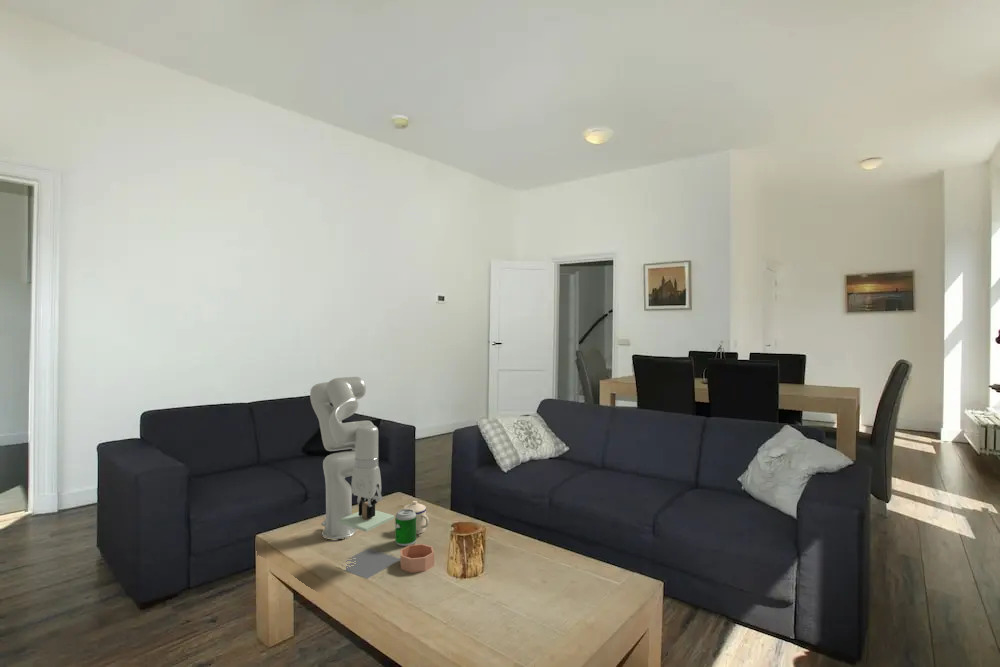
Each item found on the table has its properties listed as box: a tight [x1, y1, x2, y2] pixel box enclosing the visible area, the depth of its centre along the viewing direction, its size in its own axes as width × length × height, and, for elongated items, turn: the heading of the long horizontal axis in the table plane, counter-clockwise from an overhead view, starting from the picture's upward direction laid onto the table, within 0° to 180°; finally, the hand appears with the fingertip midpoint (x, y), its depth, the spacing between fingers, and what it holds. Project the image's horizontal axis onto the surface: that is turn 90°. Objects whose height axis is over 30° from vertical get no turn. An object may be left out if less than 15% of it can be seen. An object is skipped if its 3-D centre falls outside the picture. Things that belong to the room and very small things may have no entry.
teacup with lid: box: [402, 500, 430, 535], centre depth 205 cm, size 12×9×12 cm
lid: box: [339, 501, 395, 533], centre depth 178 cm, size 13×13×6 cm
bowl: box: [399, 543, 435, 573], centre depth 177 cm, size 11×11×5 cm
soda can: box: [394, 509, 417, 547], centre depth 194 cm, size 8×8×12 cm
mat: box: [342, 548, 400, 580], centre depth 178 cm, size 16×16×1 cm
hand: (366, 515), depth 178 cm, fingers closed on lid, 3 cm apart
